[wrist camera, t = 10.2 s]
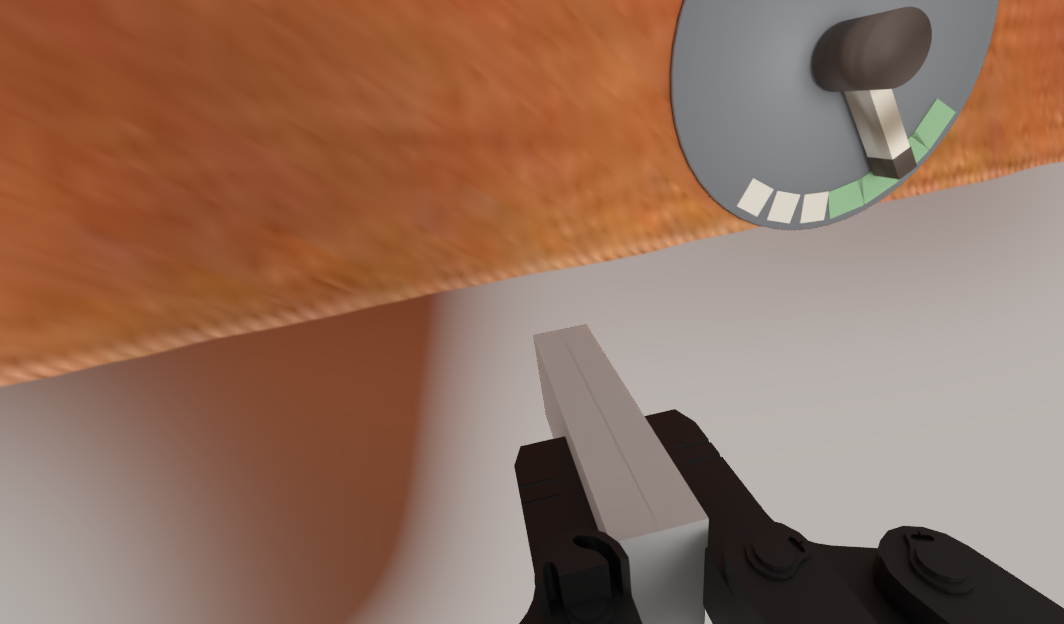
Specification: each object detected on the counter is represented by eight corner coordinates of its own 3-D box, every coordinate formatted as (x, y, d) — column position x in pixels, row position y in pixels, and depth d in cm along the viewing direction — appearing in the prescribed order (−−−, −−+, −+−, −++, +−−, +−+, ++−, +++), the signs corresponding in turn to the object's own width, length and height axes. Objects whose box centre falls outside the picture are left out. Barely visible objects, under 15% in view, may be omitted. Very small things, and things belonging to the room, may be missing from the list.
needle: (803, 49, 35) (856, 40, 31) (859, 4, 35) (921, -12, 30) (857, 187, 41) (908, 197, 36) (906, 151, 40) (964, 156, 36)
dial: (604, 0, 33) (607, -2, 32) (959, -284, 30) (968, -291, 29) (749, 286, 44) (753, 288, 44) (1014, 104, 41) (1022, 103, 41)
